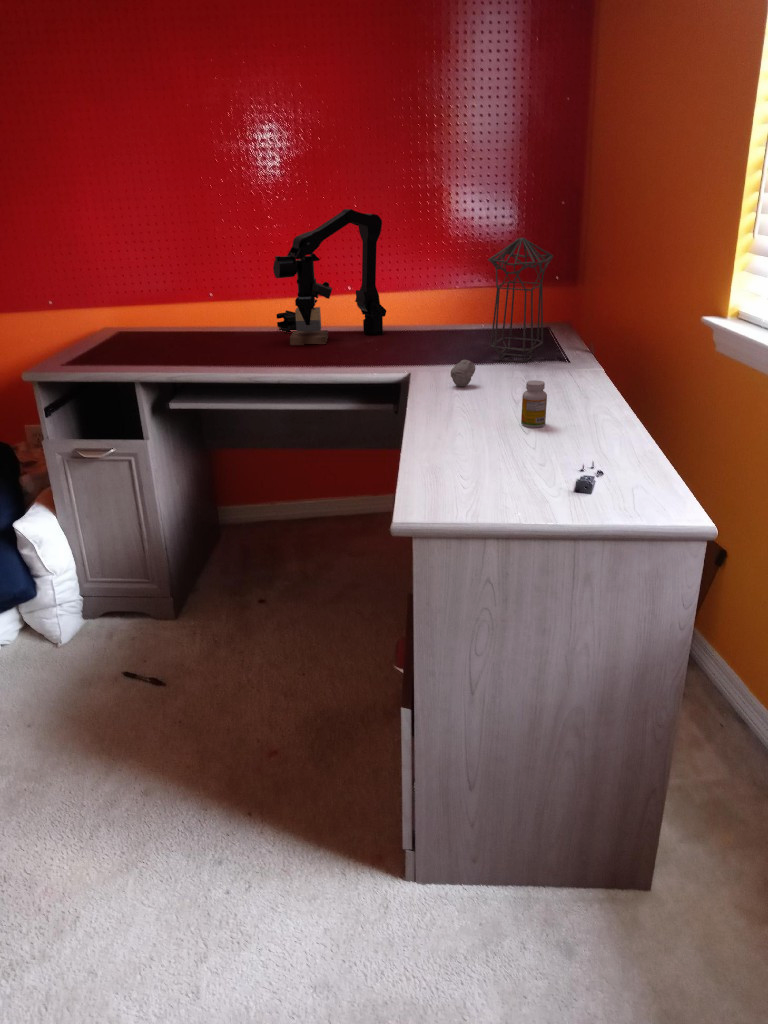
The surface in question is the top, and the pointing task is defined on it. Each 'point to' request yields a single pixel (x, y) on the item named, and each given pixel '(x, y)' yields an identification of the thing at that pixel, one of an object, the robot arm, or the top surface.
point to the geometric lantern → (510, 249)
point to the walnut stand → (308, 337)
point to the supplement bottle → (534, 405)
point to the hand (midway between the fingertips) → (308, 323)
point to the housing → (314, 320)
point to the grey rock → (462, 373)
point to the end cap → (287, 321)
